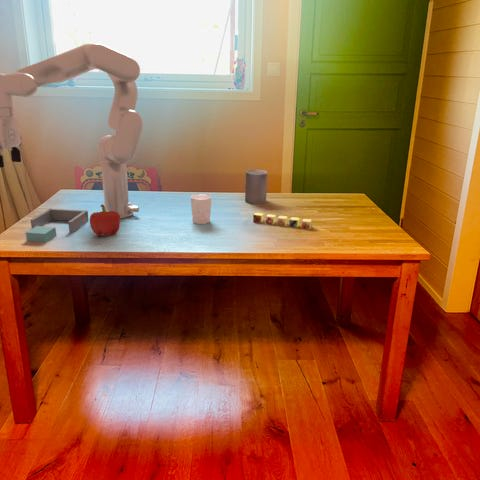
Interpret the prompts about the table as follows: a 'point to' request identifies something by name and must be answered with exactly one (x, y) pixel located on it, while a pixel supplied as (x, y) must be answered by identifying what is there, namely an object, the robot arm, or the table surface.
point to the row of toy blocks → (282, 220)
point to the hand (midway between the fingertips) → (8, 164)
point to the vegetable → (105, 222)
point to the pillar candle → (256, 186)
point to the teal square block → (41, 234)
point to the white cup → (201, 208)
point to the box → (62, 218)
